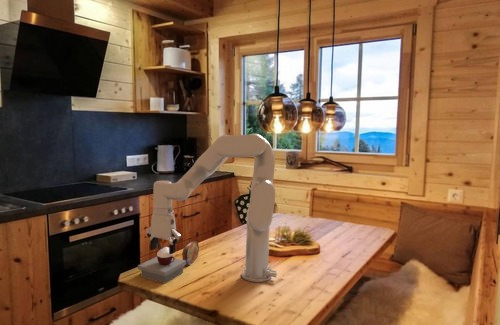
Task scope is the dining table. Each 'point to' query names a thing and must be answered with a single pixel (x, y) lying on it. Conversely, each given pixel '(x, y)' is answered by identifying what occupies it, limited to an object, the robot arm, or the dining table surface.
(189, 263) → the tin
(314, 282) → the dining table surface
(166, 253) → the cocoa
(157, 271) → the stand
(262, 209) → the robot arm
